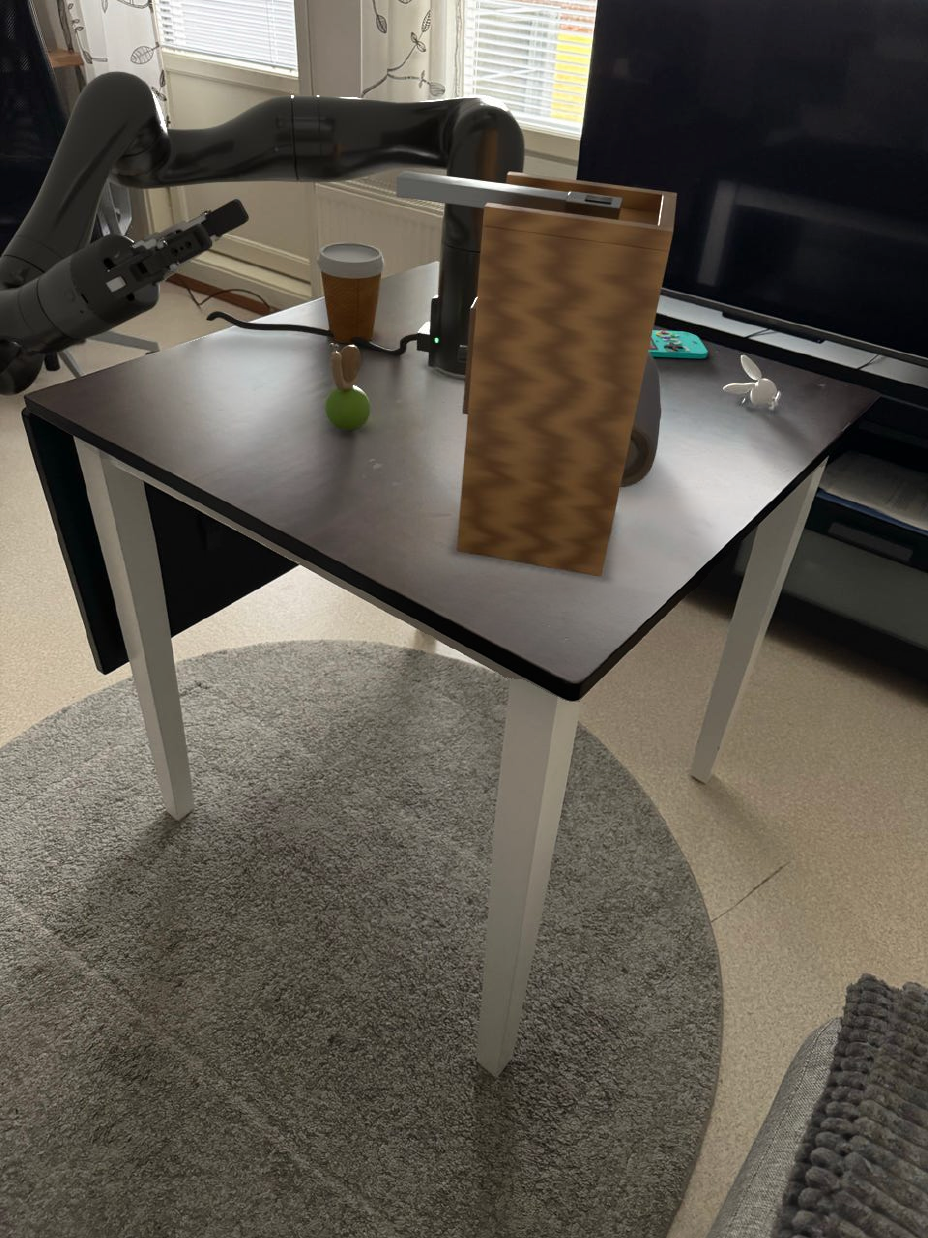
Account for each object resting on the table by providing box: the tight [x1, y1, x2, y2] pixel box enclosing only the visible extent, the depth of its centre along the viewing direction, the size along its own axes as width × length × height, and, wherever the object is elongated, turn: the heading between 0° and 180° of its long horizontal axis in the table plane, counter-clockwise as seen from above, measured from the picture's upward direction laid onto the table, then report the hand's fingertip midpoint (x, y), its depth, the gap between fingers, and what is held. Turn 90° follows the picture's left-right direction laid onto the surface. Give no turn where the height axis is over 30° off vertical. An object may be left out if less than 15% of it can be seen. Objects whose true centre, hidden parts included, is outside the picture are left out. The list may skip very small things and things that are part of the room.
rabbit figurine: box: [723, 354, 782, 412], centre depth 125 cm, size 6×4×8 cm
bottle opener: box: [396, 170, 622, 220], centre depth 78 cm, size 19×3×2 cm, turn 78°
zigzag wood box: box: [456, 171, 678, 577], centre depth 87 cm, size 17×12×34 cm
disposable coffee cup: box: [316, 241, 386, 345], centre depth 131 cm, size 10×10×12 cm
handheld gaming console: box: [649, 329, 708, 359], centre depth 139 cm, size 8×1×15 cm
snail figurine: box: [324, 342, 371, 432], centre depth 108 cm, size 5×6×12 cm
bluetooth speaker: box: [620, 351, 662, 489], centre depth 110 cm, size 23×9×10 cm, turn 170°
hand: (225, 221), depth 84 cm, fingers open, 8 cm apart
